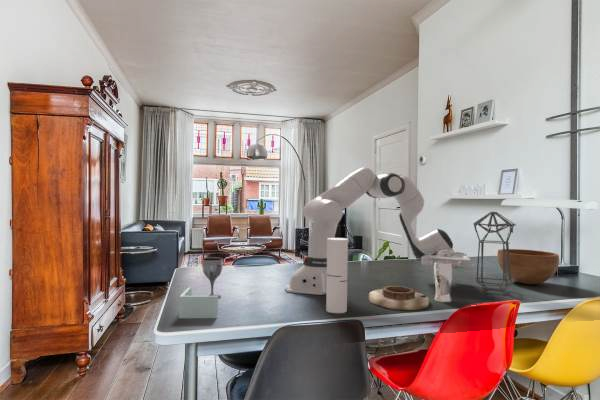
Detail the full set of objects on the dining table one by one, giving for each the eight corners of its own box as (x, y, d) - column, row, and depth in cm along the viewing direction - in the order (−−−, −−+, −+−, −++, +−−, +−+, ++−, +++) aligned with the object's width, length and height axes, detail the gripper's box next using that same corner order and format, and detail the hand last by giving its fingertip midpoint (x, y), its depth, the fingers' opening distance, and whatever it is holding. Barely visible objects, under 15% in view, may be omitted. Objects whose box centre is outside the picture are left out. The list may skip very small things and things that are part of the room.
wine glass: (203, 301, 132) (204, 261, 133) (199, 295, 140) (200, 257, 140) (224, 298, 136) (225, 259, 136) (219, 293, 143) (220, 256, 143)
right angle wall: (217, 319, 114) (217, 296, 114) (178, 320, 113) (179, 296, 113) (222, 308, 126) (222, 287, 126) (187, 308, 125) (188, 287, 125)
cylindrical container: (324, 307, 127) (325, 237, 127) (344, 307, 127) (345, 237, 127) (327, 313, 120) (329, 239, 120) (348, 313, 120) (349, 240, 120)
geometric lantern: (474, 293, 150) (473, 211, 151) (473, 286, 164) (473, 211, 165) (517, 298, 143) (516, 211, 144) (512, 290, 157) (512, 211, 158)
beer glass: (454, 303, 134) (454, 264, 134) (435, 302, 136) (435, 263, 136) (450, 298, 141) (450, 261, 141) (432, 297, 142) (432, 260, 142)
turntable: (372, 308, 125) (373, 296, 125) (365, 292, 147) (366, 282, 147) (436, 311, 124) (436, 298, 124) (419, 294, 146) (420, 283, 146)
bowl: (556, 282, 174) (557, 251, 174) (561, 292, 153) (561, 258, 153) (498, 276, 188) (498, 247, 188) (495, 285, 167) (495, 253, 167)
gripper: (422, 251, 166) (419, 255, 154) (470, 253, 158) (471, 258, 145) (422, 264, 166) (419, 269, 154) (470, 267, 158) (471, 273, 145)
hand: (444, 264), depth 149 cm, fingers open, 8 cm apart
